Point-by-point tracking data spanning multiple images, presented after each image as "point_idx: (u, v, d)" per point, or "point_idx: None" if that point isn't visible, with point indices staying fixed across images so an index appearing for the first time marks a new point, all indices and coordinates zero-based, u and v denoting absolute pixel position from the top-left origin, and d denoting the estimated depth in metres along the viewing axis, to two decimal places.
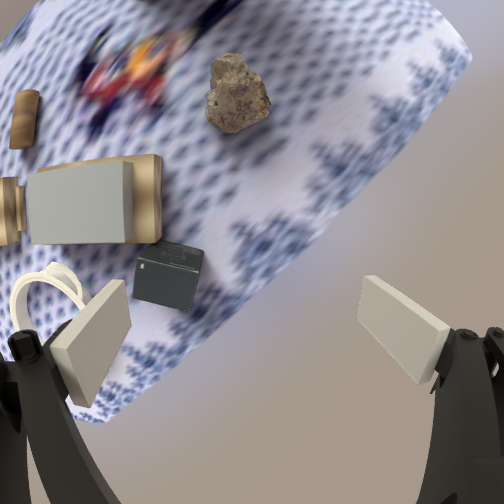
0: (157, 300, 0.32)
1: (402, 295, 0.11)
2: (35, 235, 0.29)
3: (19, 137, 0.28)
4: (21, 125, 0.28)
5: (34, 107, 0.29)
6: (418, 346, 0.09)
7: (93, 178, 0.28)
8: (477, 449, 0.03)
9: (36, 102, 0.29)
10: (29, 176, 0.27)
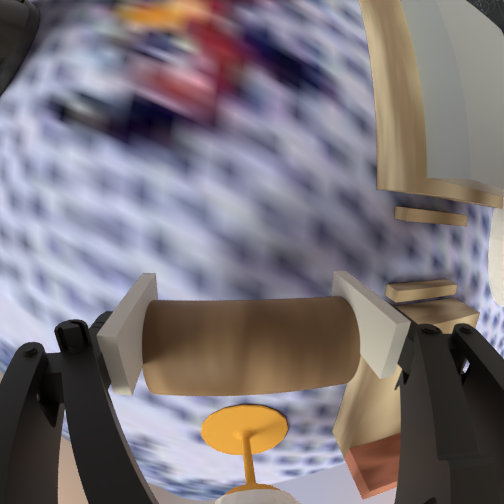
0: None
1: (367, 289, 0.12)
2: None
3: (332, 380, 0.12)
4: (291, 384, 0.11)
5: (214, 341, 0.11)
6: (379, 339, 0.10)
7: (457, 19, 0.08)
8: (452, 451, 0.03)
9: (189, 332, 0.11)
10: (473, 172, 0.10)
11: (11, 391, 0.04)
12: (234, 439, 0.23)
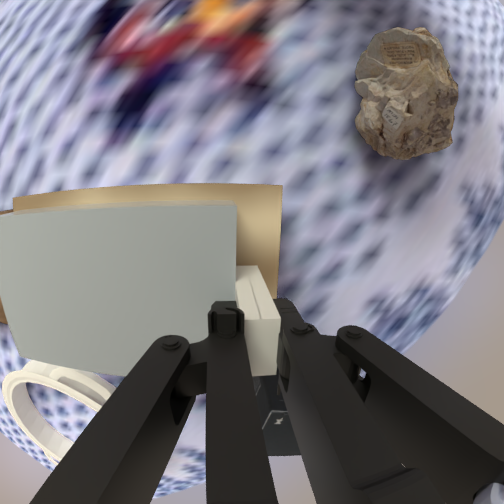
0: (292, 452, 0.16)
1: (262, 284, 0.13)
2: (24, 343, 0.13)
3: None
4: None
5: None
6: None
7: (149, 245, 0.12)
8: (367, 472, 0.03)
9: None
10: None
11: (141, 386, 0.06)
12: None
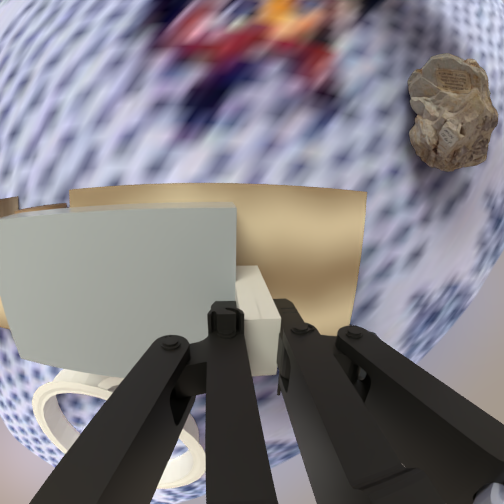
0: None
1: (262, 284, 0.13)
2: (25, 346, 0.13)
3: None
4: None
5: None
6: None
7: (149, 248, 0.12)
8: (367, 472, 0.03)
9: None
10: None
11: (141, 386, 0.06)
12: None
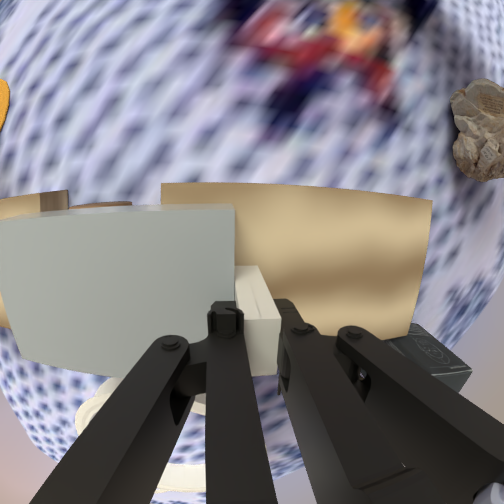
0: None
1: (262, 284, 0.13)
2: (26, 346, 0.13)
3: None
4: None
5: None
6: None
7: (147, 250, 0.12)
8: (368, 471, 0.03)
9: None
10: None
11: (140, 386, 0.06)
12: None
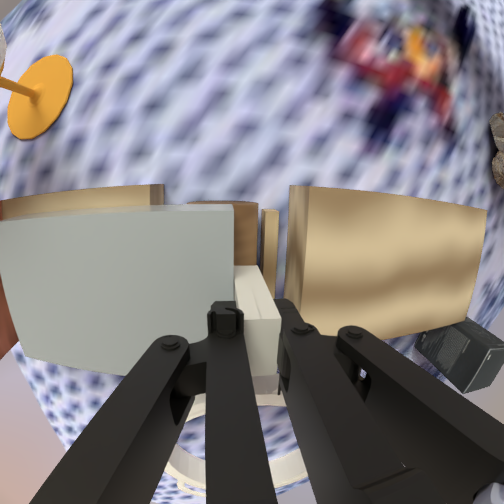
0: (479, 386, 0.18)
1: (262, 284, 0.13)
2: (29, 344, 0.13)
3: None
4: None
5: (244, 255, 0.18)
6: None
7: (149, 249, 0.13)
8: (368, 471, 0.03)
9: (249, 238, 0.18)
10: None
11: (140, 386, 0.06)
12: (31, 87, 0.15)
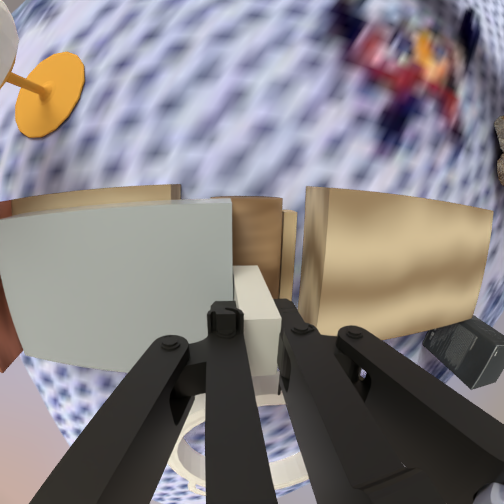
0: (486, 382, 0.18)
1: (263, 284, 0.13)
2: (29, 342, 0.13)
3: None
4: None
5: (260, 250, 0.17)
6: None
7: (148, 243, 0.13)
8: (368, 471, 0.03)
9: (266, 234, 0.17)
10: None
11: (140, 386, 0.06)
12: (40, 85, 0.16)
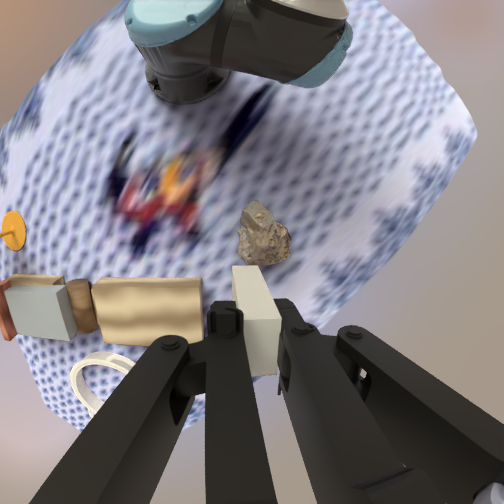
0: None
1: (263, 284, 0.13)
2: (18, 329, 0.39)
3: None
4: None
5: (76, 303, 0.43)
6: None
7: (42, 301, 0.38)
8: (368, 471, 0.03)
9: (76, 297, 0.43)
10: (5, 292, 0.37)
11: (140, 386, 0.06)
12: (10, 226, 0.41)
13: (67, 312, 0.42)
